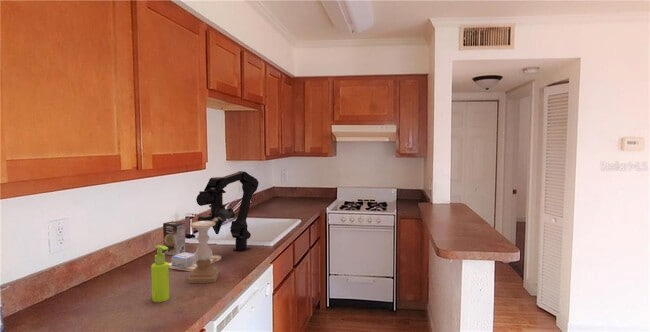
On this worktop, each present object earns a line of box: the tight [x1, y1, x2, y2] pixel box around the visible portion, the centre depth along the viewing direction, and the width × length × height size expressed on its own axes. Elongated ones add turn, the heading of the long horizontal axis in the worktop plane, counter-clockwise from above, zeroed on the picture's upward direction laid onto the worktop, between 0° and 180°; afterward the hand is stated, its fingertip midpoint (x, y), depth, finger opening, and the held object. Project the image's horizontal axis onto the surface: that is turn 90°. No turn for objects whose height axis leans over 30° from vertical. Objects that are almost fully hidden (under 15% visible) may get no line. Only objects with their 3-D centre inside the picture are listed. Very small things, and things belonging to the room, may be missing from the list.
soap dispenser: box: [150, 244, 170, 303], centre depth 140 cm, size 6×7×20 cm
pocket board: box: [168, 254, 222, 273], centre depth 182 cm, size 20×16×2 cm
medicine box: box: [170, 251, 198, 268], centre depth 175 cm, size 8×4×9 cm
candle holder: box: [187, 220, 220, 284], centre depth 161 cm, size 11×11×24 cm
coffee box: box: [162, 220, 186, 256], centre depth 197 cm, size 9×6×16 cm
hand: (217, 234), depth 190 cm, fingers closed
